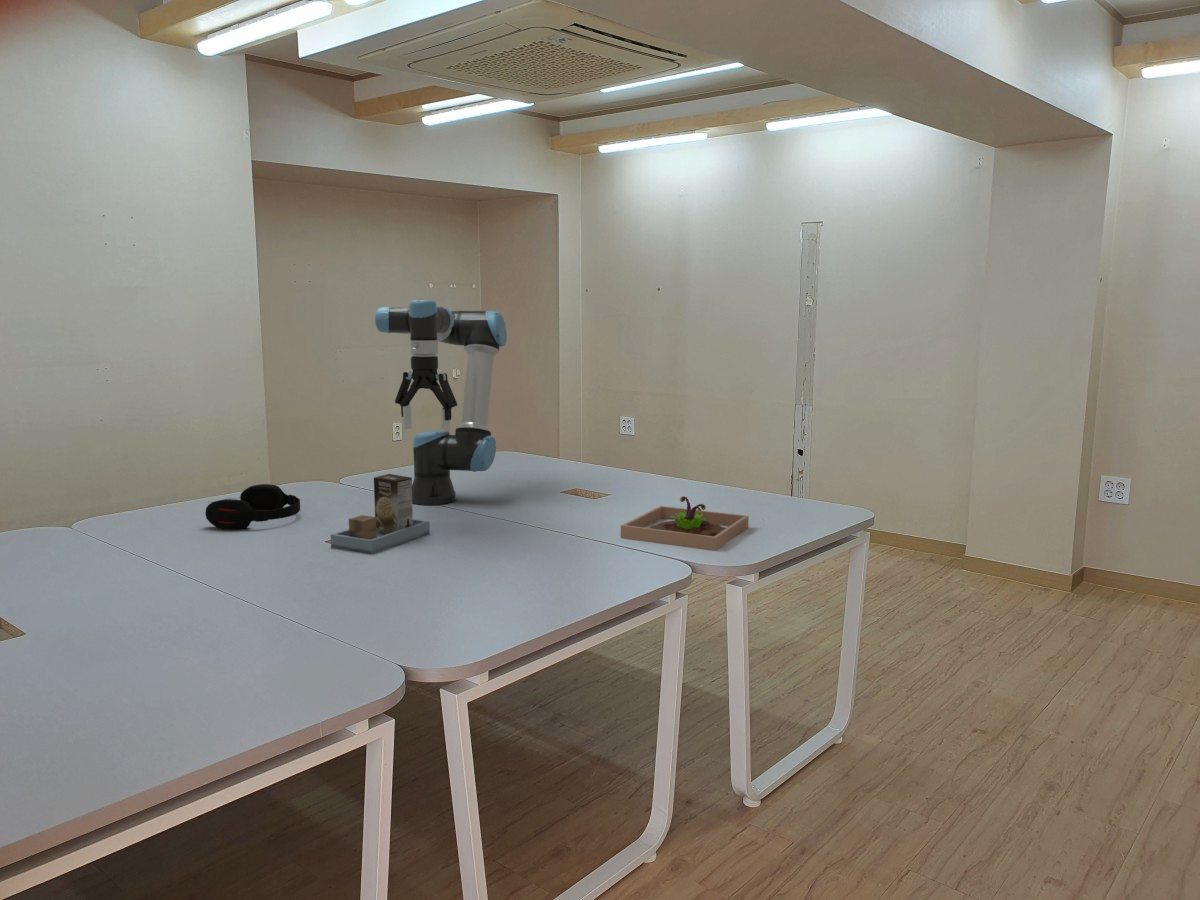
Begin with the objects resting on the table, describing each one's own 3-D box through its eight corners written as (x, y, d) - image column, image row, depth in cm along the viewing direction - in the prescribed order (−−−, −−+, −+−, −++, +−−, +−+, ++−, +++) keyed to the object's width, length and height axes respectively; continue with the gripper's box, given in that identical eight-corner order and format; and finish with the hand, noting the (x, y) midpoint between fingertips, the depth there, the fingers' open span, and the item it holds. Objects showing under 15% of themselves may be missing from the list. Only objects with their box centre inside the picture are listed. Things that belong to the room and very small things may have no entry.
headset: (209, 513, 272) (207, 485, 270) (298, 506, 281) (296, 479, 280) (204, 535, 246) (202, 504, 244) (303, 526, 255) (301, 497, 254)
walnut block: (349, 544, 232) (348, 518, 231) (362, 540, 237) (361, 515, 236) (364, 546, 230) (362, 521, 229) (377, 542, 234) (376, 517, 233)
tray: (331, 547, 233) (330, 534, 232) (391, 527, 254) (390, 515, 253) (371, 554, 226) (371, 541, 226) (429, 533, 247) (429, 521, 247)
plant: (688, 524, 261) (689, 487, 259) (738, 537, 246) (739, 498, 244) (639, 534, 248) (639, 496, 247) (688, 549, 233) (689, 508, 232)
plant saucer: (620, 537, 243) (620, 525, 243) (660, 516, 268) (660, 505, 267) (715, 550, 231) (716, 537, 230) (748, 527, 255) (748, 515, 255)
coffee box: (374, 533, 244) (372, 477, 241) (390, 528, 249) (388, 473, 247) (398, 538, 239) (396, 480, 237) (414, 533, 245) (412, 476, 242)
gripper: (380, 354, 248) (383, 428, 251) (452, 357, 237) (454, 434, 240) (398, 353, 254) (400, 425, 258) (468, 356, 243) (470, 431, 247)
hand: (426, 430), depth 249 cm, fingers open, 13 cm apart
